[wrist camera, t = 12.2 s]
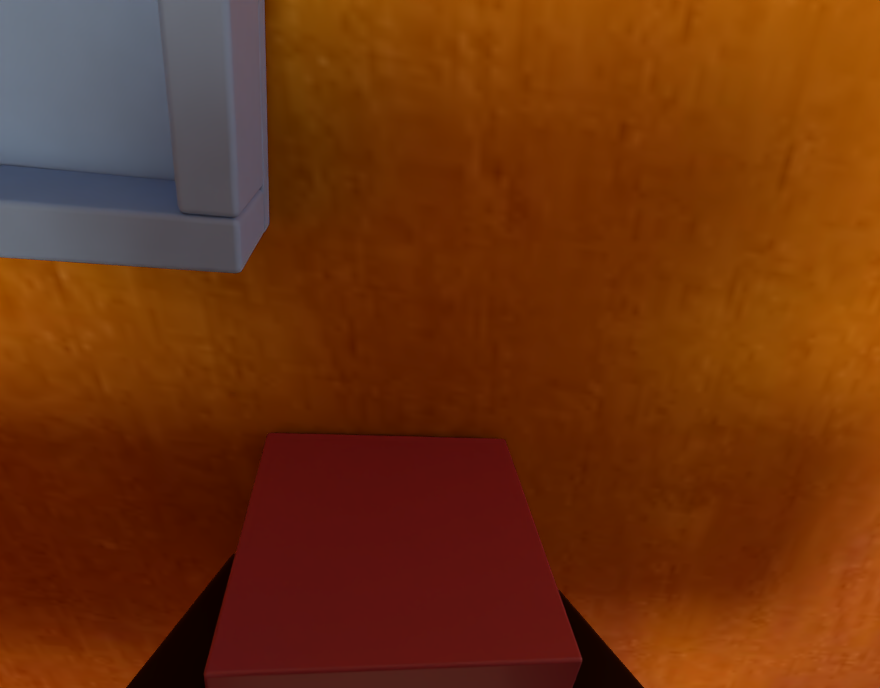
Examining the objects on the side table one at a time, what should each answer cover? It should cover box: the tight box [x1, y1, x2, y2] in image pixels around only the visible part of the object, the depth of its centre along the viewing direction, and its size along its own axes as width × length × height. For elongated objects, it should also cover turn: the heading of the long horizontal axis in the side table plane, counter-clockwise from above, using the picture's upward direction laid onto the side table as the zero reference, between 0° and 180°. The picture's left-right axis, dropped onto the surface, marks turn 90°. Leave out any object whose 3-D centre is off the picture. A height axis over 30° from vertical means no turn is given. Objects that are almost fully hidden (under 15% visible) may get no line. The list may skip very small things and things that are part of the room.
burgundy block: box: [204, 433, 582, 688], centre depth 8 cm, size 4×4×4 cm
